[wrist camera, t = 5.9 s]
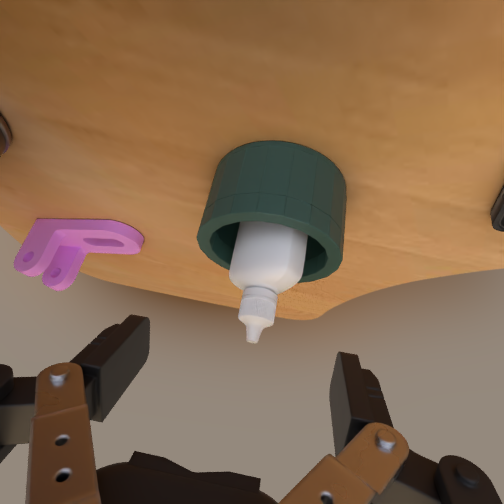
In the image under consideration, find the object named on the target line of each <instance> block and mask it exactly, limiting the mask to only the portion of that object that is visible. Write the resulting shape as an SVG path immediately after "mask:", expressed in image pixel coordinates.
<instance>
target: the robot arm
mask: <svg viewBox="0 0 504 504" xmlns="http://www.w3.org/2000/svg"><path fill="white" fill-rule="evenodd" d="M11 141H12V138H11V133H10V130H9V128H8V126H7V124H6V123H5V121H4V120H3V118H2V117H1V116H0V157H1V155H2V154H4V153H5V152H6V151H7V149H8V148H9V146H10V144H11ZM149 340H150V320H149V318H148V317H143V316H137V315H130V316H129V317H127V318H126V319H125V320H124V322H122V323H121V324H115V325H113V326H111V327H108V328H107V329H105V330H103V331H102V332H101V333H100V334H99V335H98V336H97V338H95V339H94V340H93V341H92V342H91V344H88V345H87V346H86V347H85V348H84V349H83V350H82V351H81V352H80V353H79V354H78V355H77V356H76V357H74V358H73V359H72V360H71V361H70V362H69V363H58V364H55V365H52V366H49V367H48V368H46V369H44V370H43V371H41V372H40V374H39V375H38V376H37V377H13V371H12V368H11V367H10V366H7V365H4V364H0V463H1V462H2V461H3V459H5V457H6V456H7V455H8V454H9V453H10V452H11V450H12V449H13V448H14V447H15V446H16V445H17V444H25V443H29V456H28V471H27V486H26V501H25V504H502V502H501V500H500V498H499V496H498V494H497V492H496V490H495V488H494V486H493V484H492V482H491V480H490V479H489V477H488V476H487V475H486V474H485V473H484V472H483V471H482V470H481V469H480V468H479V467H477V466H476V465H475V464H473V463H472V462H470V461H468V460H466V459H464V458H461V457H458V456H454V455H448V456H444V457H442V458H441V460H440V461H439V464H438V463H436V462H433V461H432V460H429V459H427V458H425V457H423V456H420V455H418V454H417V453H415V452H413V451H412V450H410V449H409V446H408V443H407V441H406V440H405V438H404V437H403V436H402V435H401V434H400V433H399V432H398V431H397V430H395V429H394V427H393V424H392V421H391V419H390V415H389V412H388V409H387V406H386V403H385V400H384V397H383V393H382V391H381V387H380V384H379V381H378V379H377V378H376V377H375V375H374V374H373V373H372V372H371V371H370V370H366V369H361V366H360V362H359V358H358V355H355V354H350V353H344V352H338V354H337V357H336V362H335V366H334V371H333V376H332V380H331V384H330V407H331V417H332V426H333V436H334V446H335V455H336V457H334V456H332V455H331V454H328V455H326V456H325V457H324V458H323V459H322V460H321V461H320V462H319V463H318V464H317V465H316V466H315V467H314V468H313V469H312V470H311V471H310V472H309V473H308V474H307V475H306V476H305V477H304V478H303V479H302V480H301V481H300V482H299V483H298V484H297V485H296V486H295V487H294V488H293V489H292V490H291V491H290V492H289V493H288V494H287V495H286V496H285V497H284V498H283V499H282V500H281V501H280V502H279V503H277V502H276V501H275V500H274V499H273V498H271V497H270V496H268V495H267V494H265V493H263V492H261V491H260V490H259V487H260V480H261V479H260V478H256V477H251V476H246V475H242V474H237V473H233V472H202V473H201V472H200V473H196V472H191V471H190V470H188V469H186V468H184V467H182V466H180V465H178V464H176V463H174V462H172V461H170V460H168V459H166V458H164V457H160V456H155V455H150V454H146V453H141V452H137V451H134V453H133V455H132V457H131V459H130V461H129V462H122V463H116V464H112V465H108V466H105V467H103V468H100V469H98V470H96V466H95V458H94V450H93V443H92V435H91V426H90V420H93V421H98V422H103V420H104V419H105V418H106V416H107V415H108V414H109V412H110V411H111V409H112V408H113V407H114V405H115V404H116V402H117V401H118V400H119V398H120V397H121V395H122V394H123V393H124V391H125V390H126V389H127V387H128V386H129V385H130V383H131V382H132V380H133V379H134V378H135V376H136V375H137V374H138V372H139V370H140V369H141V368H142V367H143V365H144V364H145V362H146V360H147V357H148V354H149Z"/></svg>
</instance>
